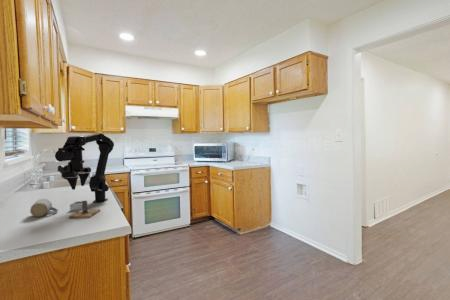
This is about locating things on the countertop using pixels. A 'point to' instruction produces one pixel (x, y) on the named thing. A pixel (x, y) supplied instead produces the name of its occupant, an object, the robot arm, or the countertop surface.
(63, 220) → the countertop surface
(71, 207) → the grey square socket
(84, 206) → the keeper
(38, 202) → the ceramic mug
